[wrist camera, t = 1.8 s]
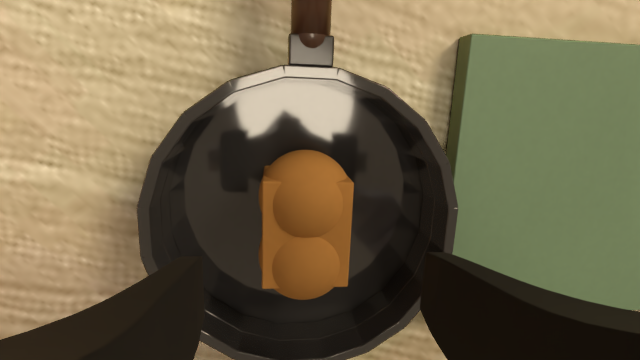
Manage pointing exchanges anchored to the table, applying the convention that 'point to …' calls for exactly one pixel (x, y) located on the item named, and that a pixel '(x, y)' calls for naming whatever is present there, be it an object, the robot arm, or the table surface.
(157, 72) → the table surface
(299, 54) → the pan handle
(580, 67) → the cutting board
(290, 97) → the pan
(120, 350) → the robot arm
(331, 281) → the orange double sphere block
